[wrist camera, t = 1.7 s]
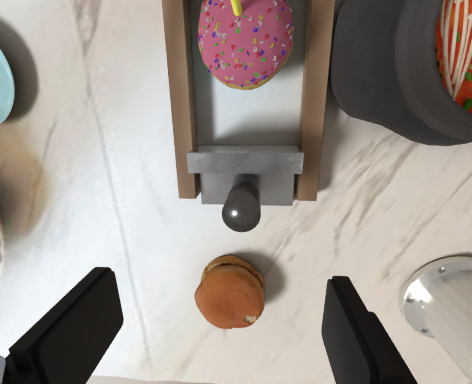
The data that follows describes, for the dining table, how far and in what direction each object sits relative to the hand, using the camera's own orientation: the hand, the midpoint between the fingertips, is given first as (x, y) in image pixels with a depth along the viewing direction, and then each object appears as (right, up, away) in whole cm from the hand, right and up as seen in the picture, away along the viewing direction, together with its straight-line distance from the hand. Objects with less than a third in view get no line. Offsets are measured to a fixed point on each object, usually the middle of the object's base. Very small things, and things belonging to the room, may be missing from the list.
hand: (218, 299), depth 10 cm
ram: (+2, +7, +19) cm, 20 cm away
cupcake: (+2, +20, +15) cm, 25 cm away
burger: (0, -9, +25) cm, 26 cm away
